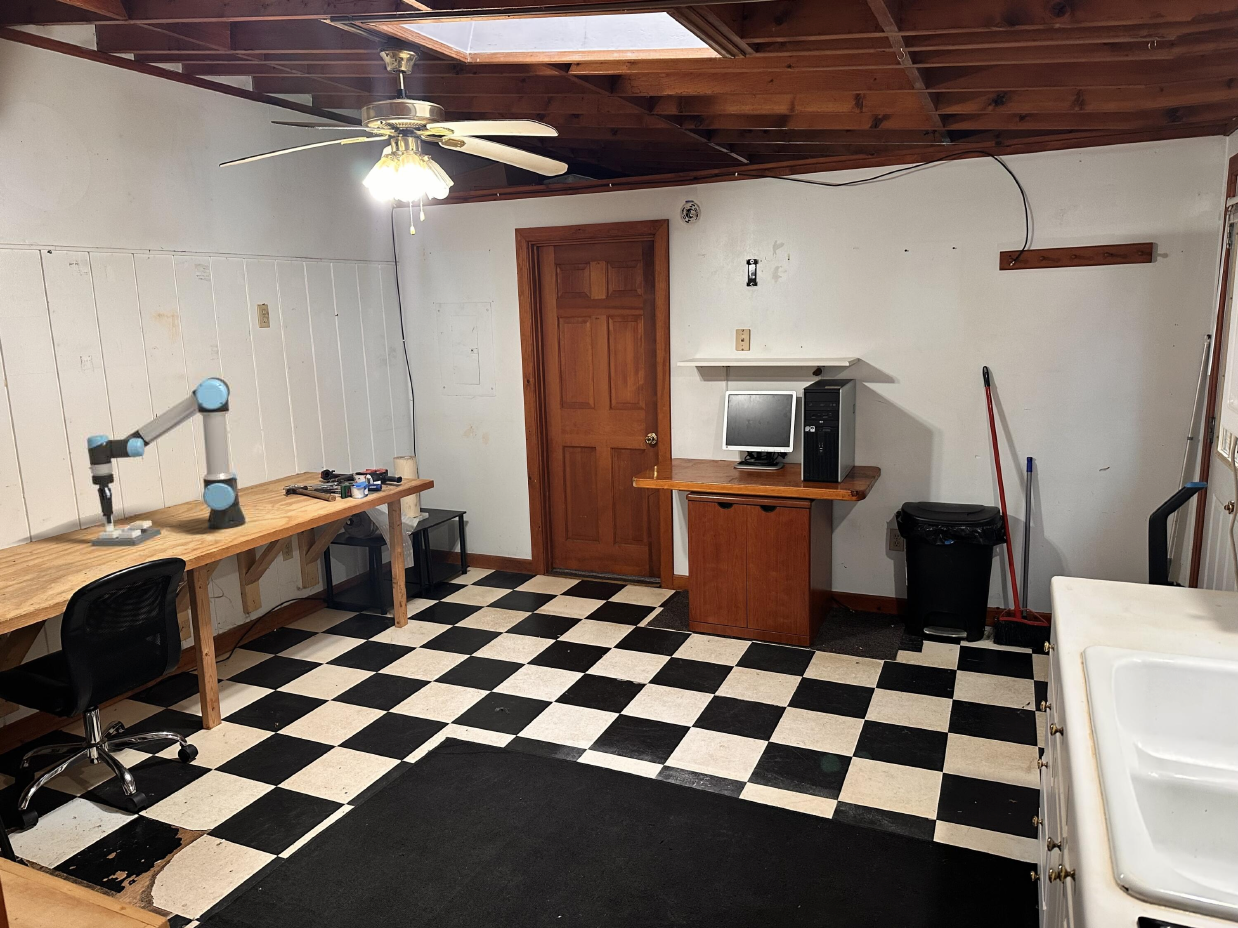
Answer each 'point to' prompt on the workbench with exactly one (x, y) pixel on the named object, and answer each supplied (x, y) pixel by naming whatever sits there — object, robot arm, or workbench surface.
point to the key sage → (109, 534)
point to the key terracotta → (123, 527)
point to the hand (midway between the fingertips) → (109, 530)
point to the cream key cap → (140, 525)
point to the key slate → (129, 534)
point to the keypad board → (127, 539)
